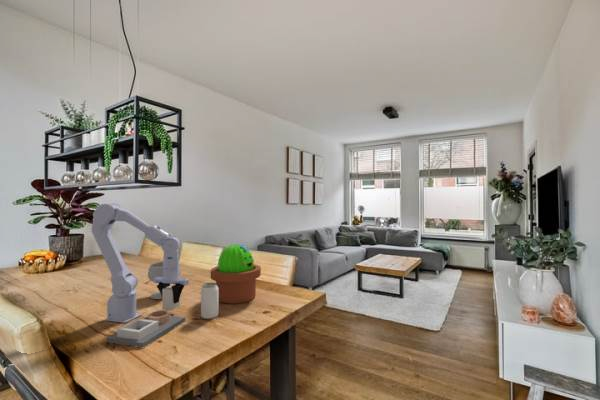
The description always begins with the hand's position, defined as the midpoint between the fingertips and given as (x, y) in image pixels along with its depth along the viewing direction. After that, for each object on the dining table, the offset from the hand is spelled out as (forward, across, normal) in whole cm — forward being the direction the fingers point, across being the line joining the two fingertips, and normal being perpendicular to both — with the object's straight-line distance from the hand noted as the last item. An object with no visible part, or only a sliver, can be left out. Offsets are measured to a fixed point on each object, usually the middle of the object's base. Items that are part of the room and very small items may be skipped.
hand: (170, 301), depth 115 cm
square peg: (+2, 0, 0) cm, 2 cm away
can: (+5, +16, +2) cm, 17 cm away
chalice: (+5, -18, +18) cm, 26 cm away
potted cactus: (+5, +16, +24) cm, 29 cm away
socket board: (+5, +3, -15) cm, 16 cm away
